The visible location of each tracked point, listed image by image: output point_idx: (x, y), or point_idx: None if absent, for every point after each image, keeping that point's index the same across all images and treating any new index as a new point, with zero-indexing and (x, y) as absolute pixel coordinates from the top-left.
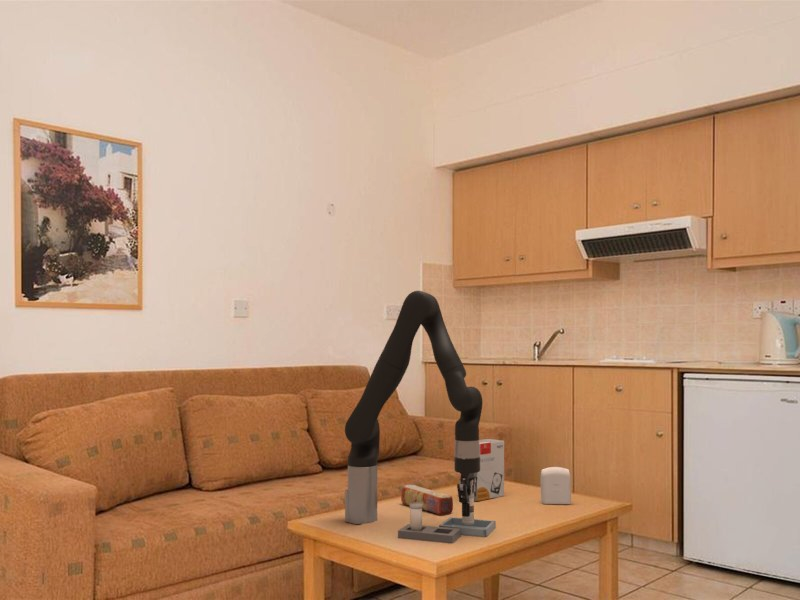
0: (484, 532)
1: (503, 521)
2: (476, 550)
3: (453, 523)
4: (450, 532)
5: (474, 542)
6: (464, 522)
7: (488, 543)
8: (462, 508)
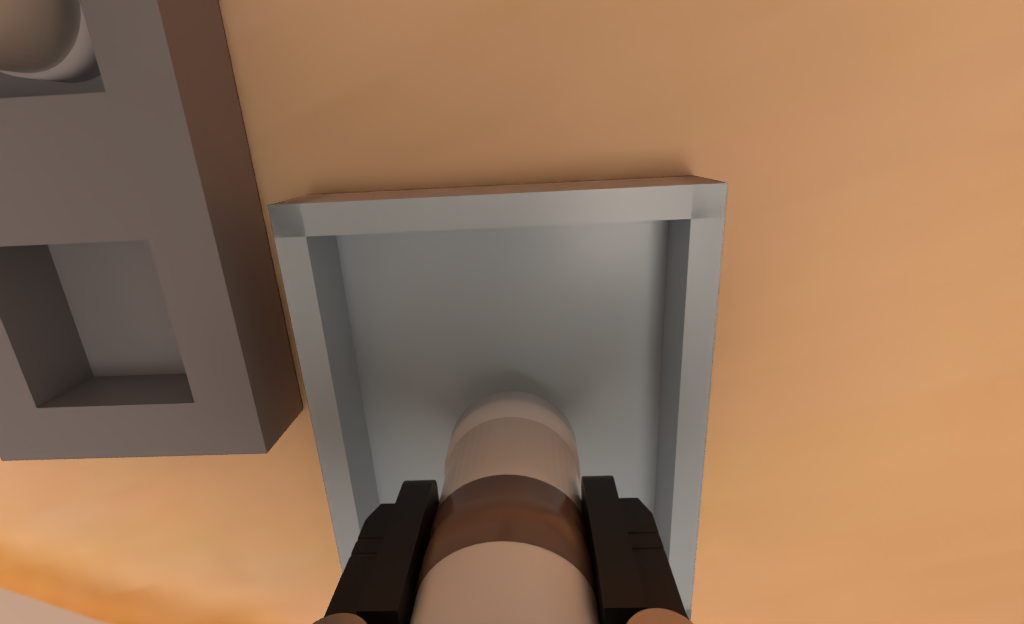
0: None
1: (965, 557)
2: (76, 583)
3: (671, 227)
4: (92, 409)
5: (245, 526)
6: (449, 444)
7: (276, 605)
8: (381, 551)
